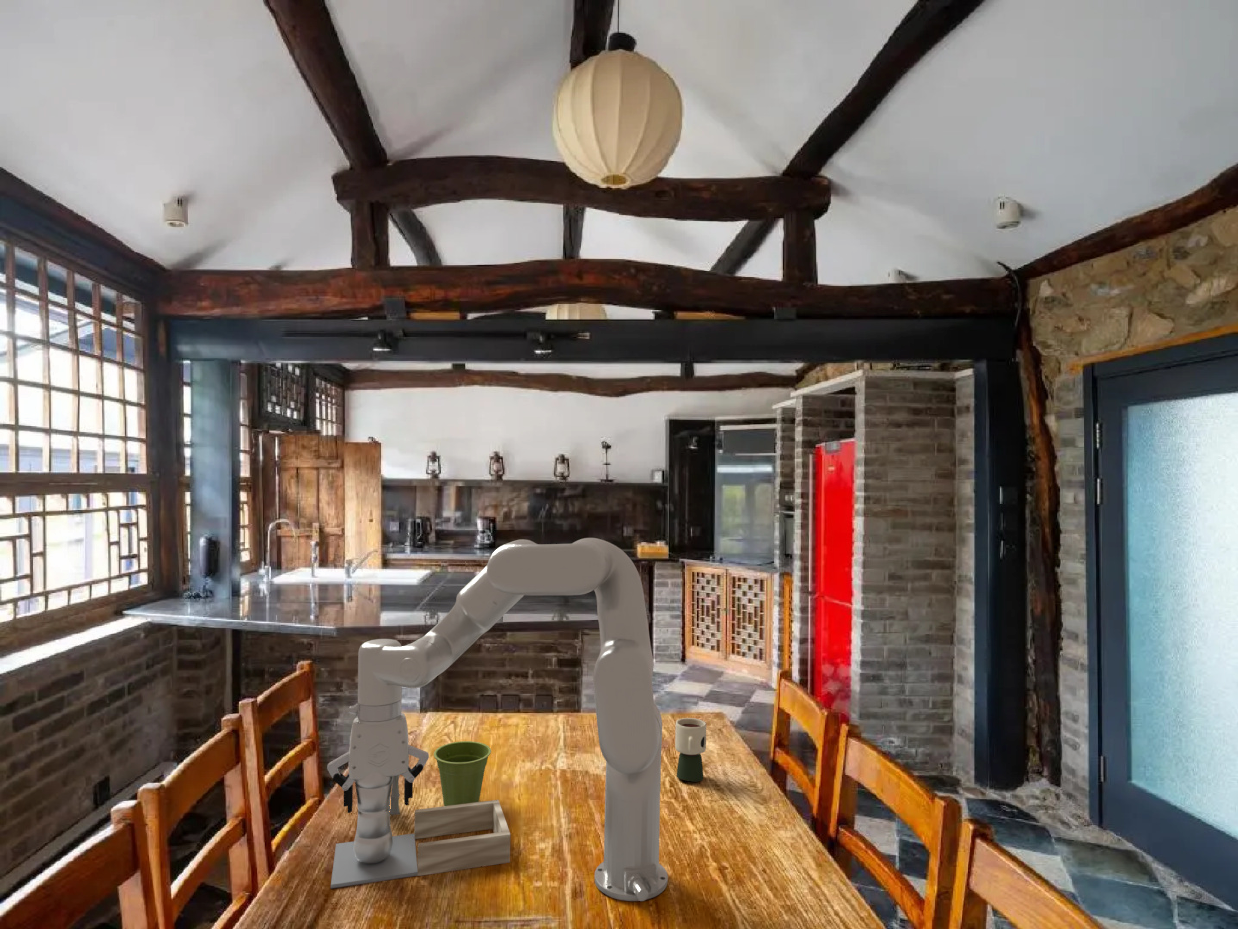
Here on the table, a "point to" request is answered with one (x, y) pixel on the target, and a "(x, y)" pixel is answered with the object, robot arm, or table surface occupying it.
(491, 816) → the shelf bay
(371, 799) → the plastic bottle
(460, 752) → the plant pot
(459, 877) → the table surface
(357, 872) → the tile
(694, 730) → the character mug
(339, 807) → the table surface
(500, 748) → the table surface
